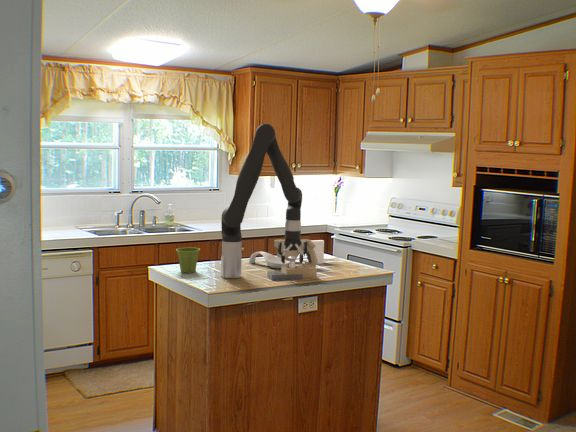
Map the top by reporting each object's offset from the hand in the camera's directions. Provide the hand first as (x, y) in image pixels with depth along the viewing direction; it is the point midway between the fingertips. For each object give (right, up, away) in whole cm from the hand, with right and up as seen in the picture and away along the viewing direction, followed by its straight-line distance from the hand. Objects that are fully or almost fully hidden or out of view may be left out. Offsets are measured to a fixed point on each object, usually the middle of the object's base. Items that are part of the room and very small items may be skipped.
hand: (292, 262), depth 286 cm
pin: (0, -7, +1) cm, 7 cm away
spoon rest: (-12, -4, +28) cm, 31 cm away
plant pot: (-51, -5, +9) cm, 52 cm away
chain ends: (0, -7, +1) cm, 7 cm away
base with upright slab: (+13, -3, +42) cm, 44 cm away
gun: (+2, -4, +30) cm, 31 cm away
